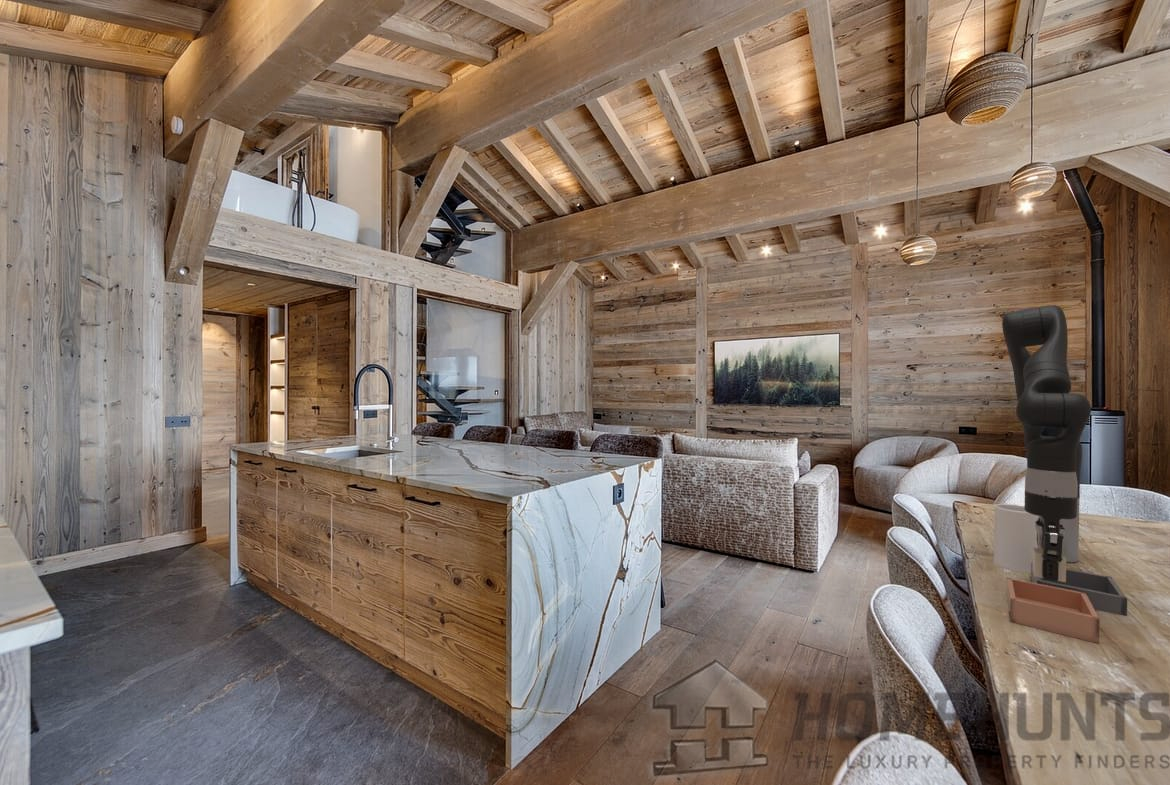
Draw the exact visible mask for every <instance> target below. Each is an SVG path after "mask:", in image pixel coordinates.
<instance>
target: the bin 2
mask: <svg viewBox="0 0 1170 785" xmlns="http://www.w3.org/2000/svg"><path fill="white" fill-rule="evenodd" d="M1030 578H1031V582H1032V583H1037V584H1042V585H1047V586H1052V587H1057V588H1062V589H1067V590H1072V591H1077V592H1082V593H1086V595H1087V597H1088V599H1089V600H1090V602H1091V604H1092V606H1093V608H1094V610H1095V611H1096V610H1097V611H1101V612H1106V613H1111V614H1114V615H1115V614H1116V615H1120V616H1125V617H1128V597H1127V596H1126V595H1125V592H1123V591H1122V589H1121V588H1120V587H1119V586H1120V585H1118V584H1117V582H1116V581H1115V579H1113V577H1112V576H1108V575H1103V574H1096V573H1091V572H1085V571H1080V570H1074V569H1069V568H1066V582H1061V581H1052V580H1047V579H1044V578H1041V577H1036V576H1034V573H1033V563H1031V572H1030Z"/></svg>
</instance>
